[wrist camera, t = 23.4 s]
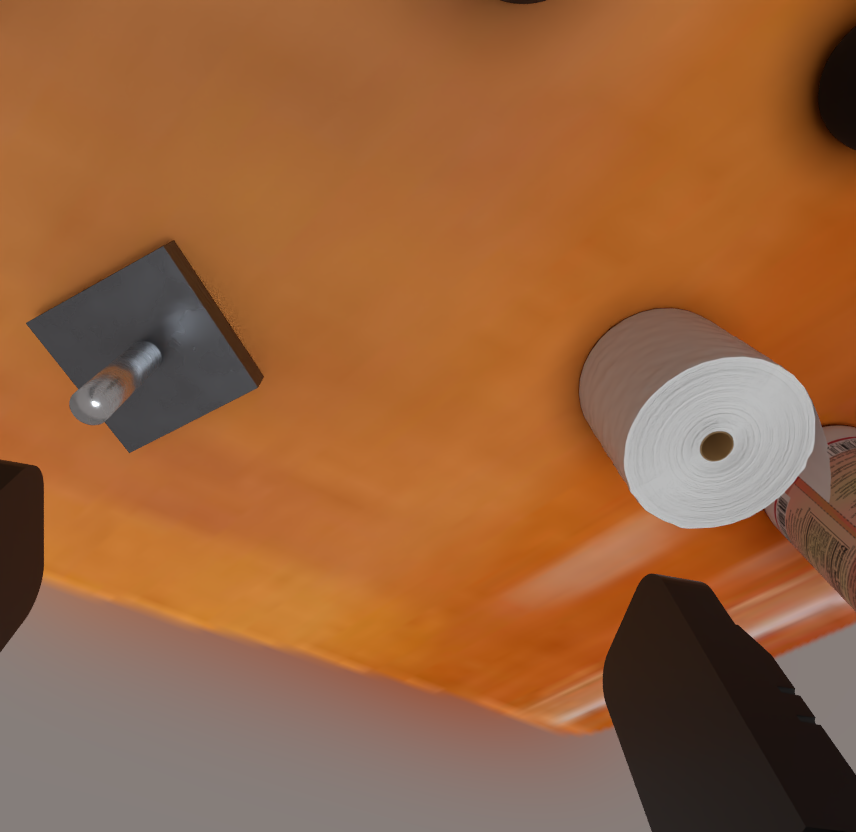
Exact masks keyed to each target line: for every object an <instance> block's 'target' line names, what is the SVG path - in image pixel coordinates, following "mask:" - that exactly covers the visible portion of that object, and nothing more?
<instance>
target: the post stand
mask: <svg viewBox="0 0 856 832" xmlns="http://www.w3.org/2000/svg"><path fill="white" fill-rule="evenodd" d="M26 324H27V325H28V327H29V328H30V329H31V330H32V332H33V333H34V334H35V335H36V337H37V338H38V339H39V340H40V342H41V343H42V344H43V345H44V347H45V348H46V349H47V350H48V352H49V353H50V354H51V355H52V357H53V358H54V359H55V360H56V362H57V363H58V364H59V365H60V367H61V368H62V369H63V370H64V372H65V373H66V374H67V375H68V377H69V378H70V379H71V380H72V382H73V383H74V384H75V385H76V387H77V388H78V389H79V390H77V391H76V392H75V393H74V394H73V395H72V397H71V399H70V409H71V412H72V413H73V415H74V416H75V417H76V418H77V419H78V420H79V421H81V422H83V423H85V424H89V425H98V424H101V423H103V422H105V423H106V424H107V426H108V427H109V428H110V429H111V431H112V432H113V433H114V434H115V436H116V437H117V438H118V439H119V441H120V442H121V443H122V444H123V446H124V447H125V448H126V449H127V451H128V452H129V453H130V452H132V451H134V450H136V449H138V448H140V447H142V446H144V445H146V444H148V443H150V442H152V441H154V440H156V439H158V438H160V437H162V436H164V435H166V434H168V433H170V432H172V431H174V430H176V429H178V428H180V427H182V426H183V425H185V424H187V423H189V422H191V421H193V420H195V419H197V418H199V417H201V416H203V415H205V414H207V413H209V412H211V411H213V410H215V409H217V408H219V407H221V406H223V405H225V404H227V403H229V402H231V401H233V400H235V399H237V398H239V397H240V396H242V395H244V394H246V393H248V392H250V391H252V390H254V389H256V388H258V387H259V385H260V383H261V381H262V379H263V377H264V376H263V375H262V373H261V372H260V370H259V369H258V367H257V366H256V364H255V363H254V361H253V359H252V358H251V356H250V355H249V353H248V352H247V350H246V349H245V347H244V346H243V344H242V343H241V341H240V340H239V338H238V337H237V335H236V334H235V332H234V331H233V329H232V328H231V326H230V325H229V323H228V322H227V320H226V319H225V317H224V316H223V314H222V312H221V311H220V309H219V308H218V306H217V305H216V303H215V302H214V300H213V299H212V297H211V296H210V294H209V293H208V291H207V290H206V288H205V287H204V285H203V284H202V282H201V281H200V279H199V278H198V276H197V275H196V273H195V272H194V270H193V269H192V267H191V265H190V264H189V262H188V261H187V259H186V258H185V256H184V255H183V253H182V252H181V250H180V249H179V247H178V246H177V244H176V243H175V241H172V242H170V243H168V244H166V245H164V246H163V247H161V248H159V249H157V250H155V251H154V252H152V253H150V254H148V255H147V256H145V257H143V258H141V259H139V260H138V261H136V262H134V263H132V264H131V265H129V266H127V267H125V268H123V269H122V270H120V271H118V272H116V273H114V274H113V275H111V276H109V277H107V278H106V279H104V280H102V281H100V282H98V283H97V284H95V285H93V286H91V287H90V288H88V289H86V290H84V291H82V292H81V293H79V294H77V295H75V296H73V297H72V298H70V299H68V300H66V301H65V302H63V303H61V304H59V305H57V306H56V307H54V308H52V309H50V310H49V311H47V312H45V313H43V314H41V315H40V316H38V317H36V318H34V319H32V320H31V321H29V322H27V323H26Z"/></svg>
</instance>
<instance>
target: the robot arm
mask: <svg viewBox="0 0 856 832" xmlns="http://www.w3.org/2000/svg"><path fill="white" fill-rule="evenodd" d="M43 570H44V483H43V476H42V473H41V471H40V469H39V468H38V467H37V466H34V465H28V464H23V463H17V462H11V461H5V460H0V652H1V651H2V649H3V648H4V647H5V645H6V644H7V642H8V641H9V640H10V639H11V637H12V636H13V635H14V633H15V632H16V631H17V629H18V628H19V627H20V625H21V624H22V623H23V621H24V620H25V618H26V617H27V615H28V614H29V612H30V610H31V609H32V606H33V604H34V602H35V600H36V598H37V595H38V592H39V589H40V586H41V582H42V577H43ZM603 692H604V698H605V702H606V705H607V708H608V711H609V713H610V716H611V719H612V722H613V725H614V727H615V730H616V733H617V735H618V738H619V741H620V744H621V747H622V750H623V752H624V755H625V758H626V761H627V763H628V766H629V769H630V772H631V775H632V777H633V780H634V783H635V786H636V788H637V791H638V794H639V797H640V800H641V802H642V805H643V808H644V811H645V814H646V816H647V819H648V822H649V825H650V827H651V830H652V832H856V775H855V773H854V772H853V770H852V769H851V767H850V766H849V765H848V763H847V762H846V761H845V759H844V758H843V756H842V755H841V753H840V752H839V750H838V749H837V748H836V746H835V745H834V743H833V742H832V741H831V739H830V738H829V736H828V735H827V733H826V732H825V730H824V729H823V728H822V726H821V725H816V724H815V716H814V715H813V714H812V712H811V711H810V709H809V708H808V706H807V705H806V703H805V702H804V701H803V699H802V698H801V696H799V695H795V688H794V686H793V685H792V684H791V682H790V681H789V679H788V678H787V677H786V675H785V674H784V672H783V671H782V669H781V668H780V667H779V665H778V664H777V662H776V661H775V659H774V658H773V657H772V655H771V654H770V653H768V652H767V651H766V650H765V649H764V648H763V647H762V646H761V645H760V644H759V643H757V642H756V641H755V640H754V639H753V638H752V637H751V636H750V635H749V634H747V633H746V632H745V631H744V630H743V629H742V628H741V627H740V626H739V625H735V623H734V622H733V620H732V619H731V617H730V616H729V615H728V613H727V612H726V610H725V609H724V607H723V606H722V604H721V603H720V601H719V600H718V598H717V597H716V595H715V594H714V592H713V591H712V589H711V588H710V587H709V586H708V585H707V584H705V583H703V582H699V581H693V580H687V579H681V578H675V577H670V576H664V575H658V574H648V575H646V576H645V577H644V578H643V579H642V580H641V581H640V583H639V585H638V587H637V589H636V591H635V593H634V595H633V598H632V600H631V602H630V604H629V607H628V609H627V611H626V613H625V616H624V618H623V620H622V622H621V625H620V627H619V629H618V631H617V633H616V636H615V638H614V640H613V642H612V645H611V647H610V649H609V651H608V654H607V656H606V660H605V664H604V670H603Z"/></svg>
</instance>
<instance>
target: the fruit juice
mask: <svg viewBox="0 0 856 832" xmlns="http://www.w3.org/2000/svg"><path fill="white" fill-rule="evenodd" d="M822 428H823V431H824V434H825V437H826V440H827V444H828V449H827V453H828V456H829V459H830V471H831V484H830V501H829V503H828V502H827V501H826V500H825V499H824V498H822V497H821V496H820V495H819V494H818V493H817V492H816V491H815V490H814V489H812V488H811V487H810V486H809V485H808V484H807V483H806V482H804V481H803V480H802V479H801V478H800V477H799V476H798V477H797V478H796V479H795V481H794V482H793V483H792V485H791V486H790V487H789V488H788V489H787V490H786V491H785V492H784V493H783V494H782V495H781V496H780V497H779V498H777V499H776V500H775V501H774V502H772V503H771V504H770V505H768V506H767V507H766V508H764V509H765V511H766V513H767V515H768V517H769V518H770V520H771V521H772V523H773V524H774V525H775V526H776V527H777V528H778V530H779V531H780V532H781V533H782V534H783V535H784V536H785V537H786V538H787V539H788V540H789V541H790V542H791V543H792V544H793V546H794V547H795V548H796V549H797V550H798V551H799V552H800V553H801V554H802V555H803V556H804V557H805V558H806V559H807V560H808V561H809V563H810V564H811V565H812V566H813V567H814V568H815V569H816V570H817V571H818V572H819V573H820V574H821V575H822V576H823V577H824V578H825V580H826V581H827V582H828V583H829V584H830V585H831V586H832V587H833V588H834V589H835V590H836V591H837V592H838V593H839V594H840V595H841V597H842V598H843V599H844V600H845V601H846V602H847V603H848V604H849V605H850V606H851V607H852V608H853V609H854V610H855V611H856V428H855V427H850V426H842V425H835V426H826V427H822Z"/></svg>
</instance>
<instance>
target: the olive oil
mask: <svg viewBox="0 0 856 832" xmlns="http://www.w3.org/2000/svg"><path fill="white" fill-rule="evenodd" d="M502 1H505V2H510V3H517V4H530V3H537V2H542V1H545V0H502Z"/></svg>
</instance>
